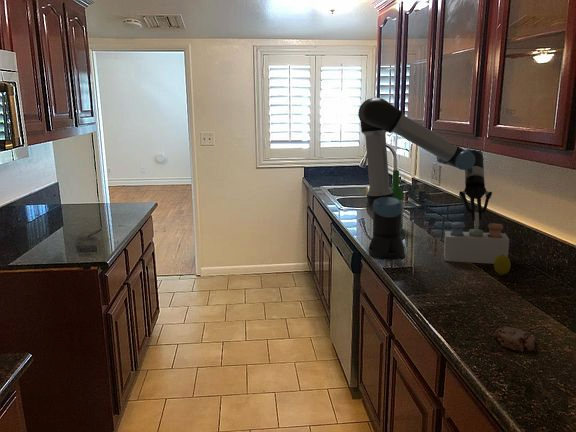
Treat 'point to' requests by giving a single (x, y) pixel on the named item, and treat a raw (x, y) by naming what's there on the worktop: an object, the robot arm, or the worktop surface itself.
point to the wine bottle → (397, 191)
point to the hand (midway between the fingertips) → (476, 227)
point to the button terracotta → (495, 230)
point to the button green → (475, 233)
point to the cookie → (515, 339)
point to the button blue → (457, 228)
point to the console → (474, 248)
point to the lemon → (502, 264)
